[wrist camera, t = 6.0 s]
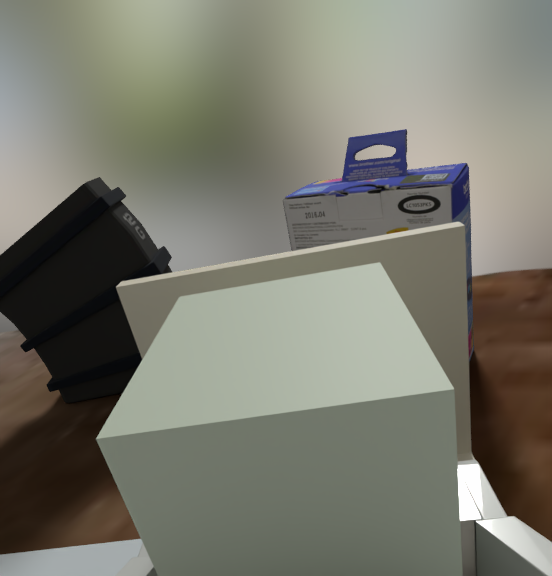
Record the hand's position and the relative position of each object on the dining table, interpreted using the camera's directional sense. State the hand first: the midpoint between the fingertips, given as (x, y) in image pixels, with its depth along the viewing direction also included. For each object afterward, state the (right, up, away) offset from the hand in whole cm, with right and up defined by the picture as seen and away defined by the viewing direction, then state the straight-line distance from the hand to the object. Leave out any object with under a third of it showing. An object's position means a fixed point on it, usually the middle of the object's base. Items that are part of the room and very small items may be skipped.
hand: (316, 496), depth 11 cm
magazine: (-13, -2, +22) cm, 26 cm away
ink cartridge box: (+7, 0, +18) cm, 19 cm away
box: (+1, -7, +2) cm, 8 cm away
